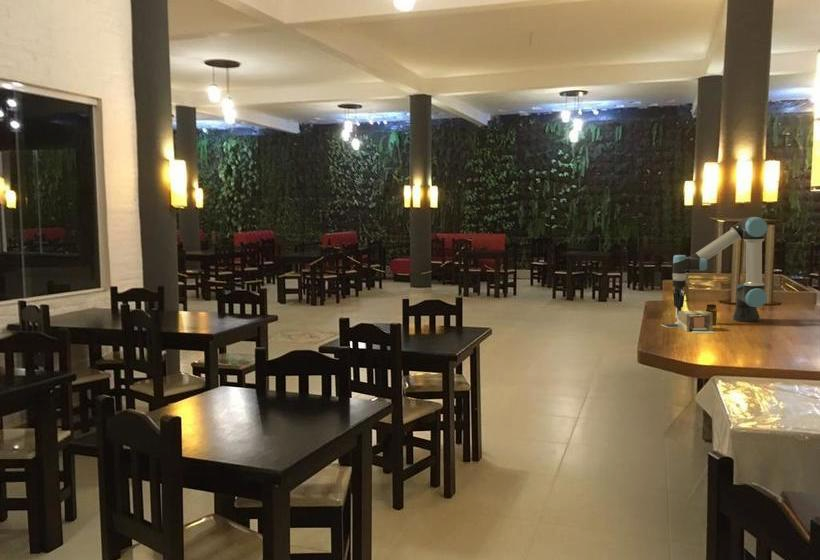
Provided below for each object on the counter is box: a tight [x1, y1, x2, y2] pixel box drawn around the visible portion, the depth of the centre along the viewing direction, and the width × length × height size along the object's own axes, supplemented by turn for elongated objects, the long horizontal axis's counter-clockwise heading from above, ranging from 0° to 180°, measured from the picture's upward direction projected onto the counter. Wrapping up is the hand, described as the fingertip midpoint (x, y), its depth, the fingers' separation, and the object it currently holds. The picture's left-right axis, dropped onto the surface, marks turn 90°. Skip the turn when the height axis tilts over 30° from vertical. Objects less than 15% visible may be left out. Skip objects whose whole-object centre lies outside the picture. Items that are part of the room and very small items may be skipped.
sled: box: [674, 315, 708, 331], centre depth 410 cm, size 8×25×7 cm, turn 3°
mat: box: [691, 330, 716, 335], centre depth 394 cm, size 11×7×1 cm, turn 93°
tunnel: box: [677, 310, 713, 332], centre depth 404 cm, size 15×11×10 cm
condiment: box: [705, 303, 718, 326], centre depth 421 cm, size 7×8×12 cm
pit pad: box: [661, 323, 678, 329], centre depth 418 cm, size 17×10×1 cm, turn 93°
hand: (678, 318), depth 427 cm, fingers closed
